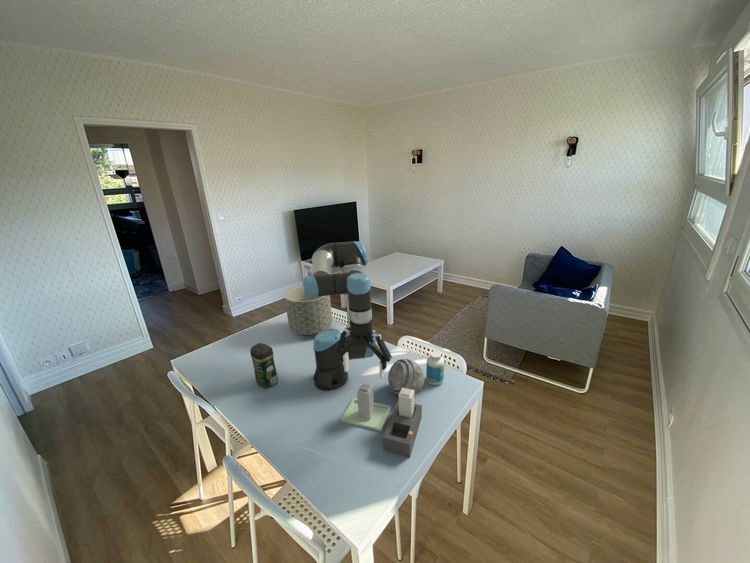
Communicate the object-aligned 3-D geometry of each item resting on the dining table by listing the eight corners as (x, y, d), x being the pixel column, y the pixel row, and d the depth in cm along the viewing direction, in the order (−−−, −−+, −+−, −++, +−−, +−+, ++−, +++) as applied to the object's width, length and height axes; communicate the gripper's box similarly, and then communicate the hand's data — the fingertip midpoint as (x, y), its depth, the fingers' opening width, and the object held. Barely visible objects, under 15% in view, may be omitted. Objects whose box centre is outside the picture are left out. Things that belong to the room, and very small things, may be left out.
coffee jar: (253, 382, 138) (245, 347, 131) (268, 373, 143) (262, 339, 137) (265, 391, 132) (258, 354, 126) (281, 381, 138) (275, 345, 131)
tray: (340, 422, 114) (340, 419, 113) (353, 400, 124) (353, 397, 124) (381, 432, 108) (381, 429, 108) (391, 409, 119) (391, 406, 118)
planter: (282, 339, 172) (276, 300, 164) (300, 319, 195) (295, 284, 187) (325, 342, 168) (321, 302, 160) (337, 321, 191) (334, 285, 183)
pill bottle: (443, 387, 130) (444, 359, 125) (425, 385, 131) (426, 358, 127) (443, 376, 137) (444, 350, 132) (426, 374, 138) (427, 348, 134)
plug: (358, 417, 115) (356, 389, 111) (363, 408, 119) (361, 381, 115) (370, 420, 113) (368, 392, 109) (374, 411, 117) (372, 384, 113)
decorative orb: (383, 386, 132) (382, 356, 127) (413, 377, 137) (413, 348, 132) (398, 409, 119) (397, 377, 114) (430, 398, 124) (431, 367, 119)
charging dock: (383, 451, 101) (381, 416, 96) (398, 412, 117) (397, 381, 112) (409, 458, 98) (409, 423, 93) (421, 418, 114) (422, 385, 109)
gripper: (322, 319, 103) (328, 372, 111) (393, 329, 95) (394, 386, 102) (332, 310, 110) (337, 361, 117) (399, 319, 102) (400, 372, 109)
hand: (364, 372), depth 110 cm, fingers open, 13 cm apart
